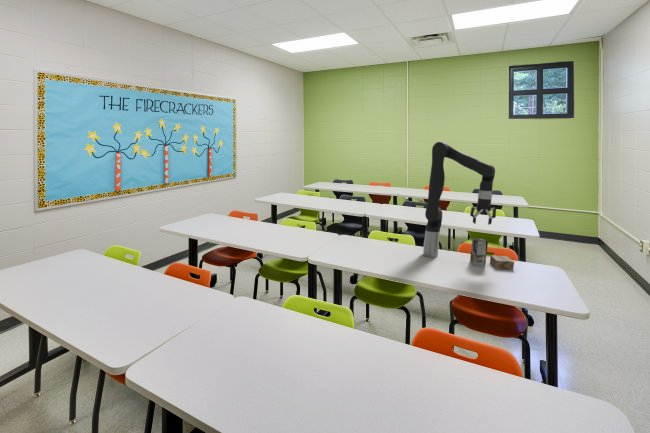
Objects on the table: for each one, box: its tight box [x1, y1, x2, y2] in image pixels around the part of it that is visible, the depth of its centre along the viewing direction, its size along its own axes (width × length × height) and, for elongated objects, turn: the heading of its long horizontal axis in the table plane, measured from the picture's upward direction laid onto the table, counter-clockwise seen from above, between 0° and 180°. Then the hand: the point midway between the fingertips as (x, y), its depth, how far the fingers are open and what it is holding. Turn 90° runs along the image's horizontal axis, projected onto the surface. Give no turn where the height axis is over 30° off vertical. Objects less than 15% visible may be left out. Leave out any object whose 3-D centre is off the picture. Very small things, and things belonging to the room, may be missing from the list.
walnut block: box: [489, 254, 515, 271], centre depth 217 cm, size 10×12×5 cm
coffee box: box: [469, 237, 489, 268], centre depth 218 cm, size 9×6×16 cm
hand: (481, 224), depth 215 cm, fingers open, 8 cm apart
